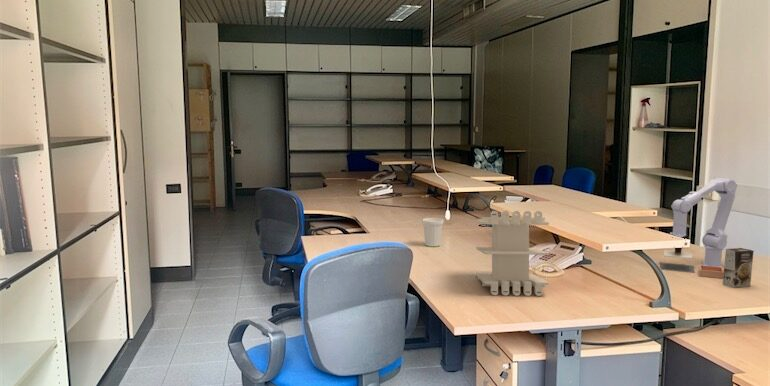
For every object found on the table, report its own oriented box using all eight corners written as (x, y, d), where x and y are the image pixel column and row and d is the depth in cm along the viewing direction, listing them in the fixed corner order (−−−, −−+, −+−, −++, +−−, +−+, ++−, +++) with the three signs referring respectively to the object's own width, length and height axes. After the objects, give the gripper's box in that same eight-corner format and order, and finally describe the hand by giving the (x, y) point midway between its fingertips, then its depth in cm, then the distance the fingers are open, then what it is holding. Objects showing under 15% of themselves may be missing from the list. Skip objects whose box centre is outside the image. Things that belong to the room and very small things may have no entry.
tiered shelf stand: (484, 295, 228) (484, 210, 229) (475, 285, 259) (475, 210, 260) (549, 296, 227) (549, 211, 228) (532, 286, 258) (532, 211, 259)
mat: (659, 263, 281) (659, 262, 281) (693, 266, 275) (693, 265, 275) (659, 270, 268) (659, 269, 268) (694, 273, 261) (695, 273, 261)
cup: (419, 247, 317) (420, 220, 315) (424, 242, 329) (424, 217, 327) (441, 248, 314) (441, 222, 312) (445, 243, 326) (445, 218, 324)
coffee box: (734, 288, 239) (737, 251, 237) (721, 284, 245) (724, 248, 243) (751, 286, 242) (754, 250, 240) (738, 282, 248) (741, 247, 246)
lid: (664, 251, 279) (664, 242, 278) (691, 254, 273) (691, 244, 273) (664, 256, 268) (664, 247, 267) (692, 259, 263) (692, 249, 262)
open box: (698, 272, 265) (698, 264, 264) (722, 274, 260) (723, 267, 260) (699, 277, 256) (699, 269, 255) (724, 279, 251) (725, 272, 251)
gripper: (670, 221, 277) (668, 247, 279) (670, 226, 264) (668, 254, 266) (686, 222, 274) (684, 249, 275) (687, 227, 261) (685, 255, 263)
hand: (678, 251), depth 270 cm, fingers closed on lid, 3 cm apart
